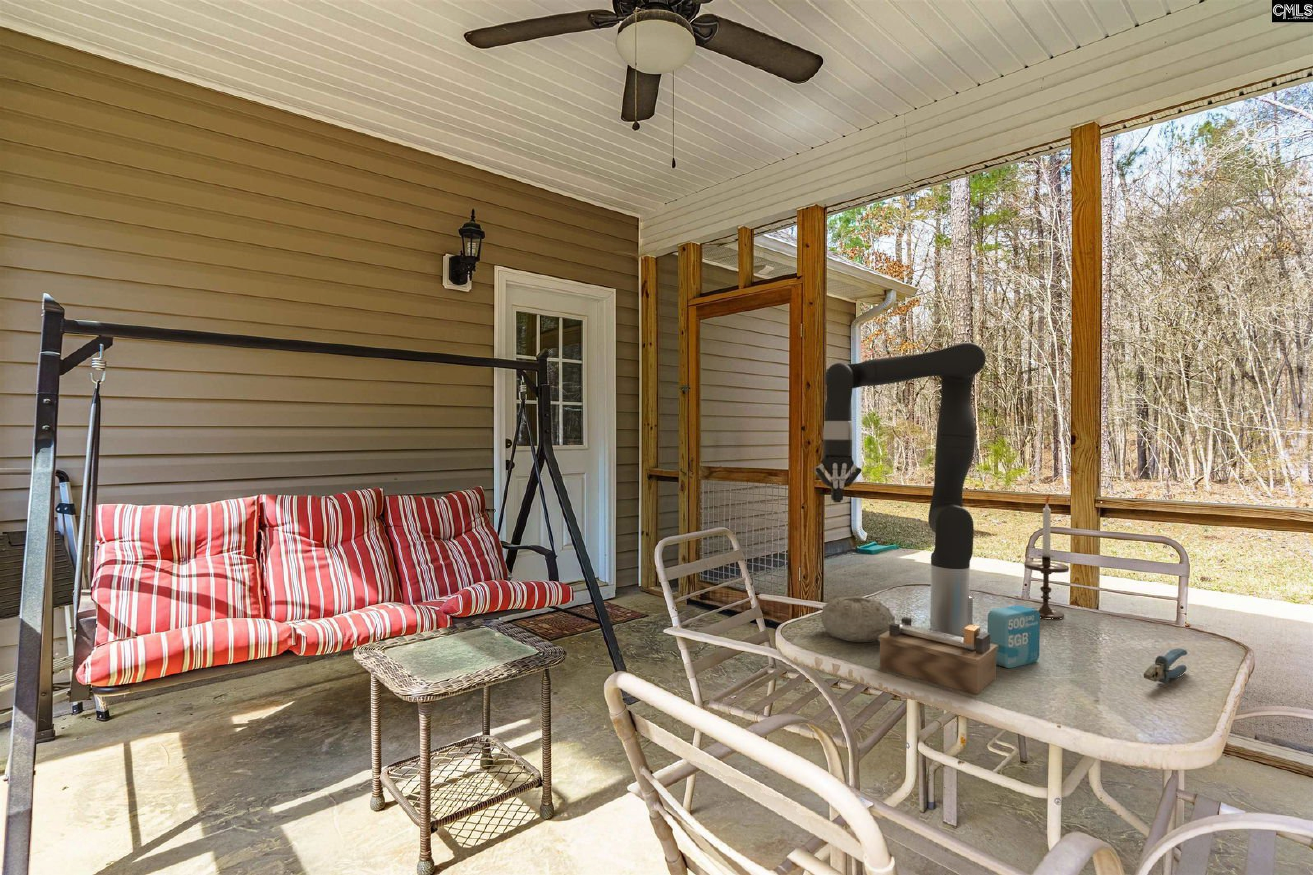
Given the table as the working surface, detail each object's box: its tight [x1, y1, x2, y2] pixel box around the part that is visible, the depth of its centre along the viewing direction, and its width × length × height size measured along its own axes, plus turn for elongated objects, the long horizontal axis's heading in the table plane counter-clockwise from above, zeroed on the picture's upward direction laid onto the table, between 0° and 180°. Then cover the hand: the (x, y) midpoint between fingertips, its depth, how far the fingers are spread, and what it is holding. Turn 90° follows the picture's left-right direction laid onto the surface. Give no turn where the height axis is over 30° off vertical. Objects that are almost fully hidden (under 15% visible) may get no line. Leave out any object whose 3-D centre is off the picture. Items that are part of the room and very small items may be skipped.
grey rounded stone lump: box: [820, 595, 896, 643], centre depth 159 cm, size 18×18×10 cm
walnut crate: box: [877, 616, 998, 695], centre depth 136 cm, size 21×13×10 cm, turn 46°
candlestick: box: [1023, 493, 1070, 619], centre depth 180 cm, size 11×11×35 cm
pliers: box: [1143, 648, 1188, 684], centre depth 132 cm, size 20×2×6 cm, turn 123°
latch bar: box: [900, 622, 981, 650], centre depth 136 cm, size 17×4×4 cm, turn 46°
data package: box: [986, 604, 1041, 669], centre depth 143 cm, size 12×4×12 cm, turn 116°
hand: (837, 502), depth 170 cm, fingers closed
